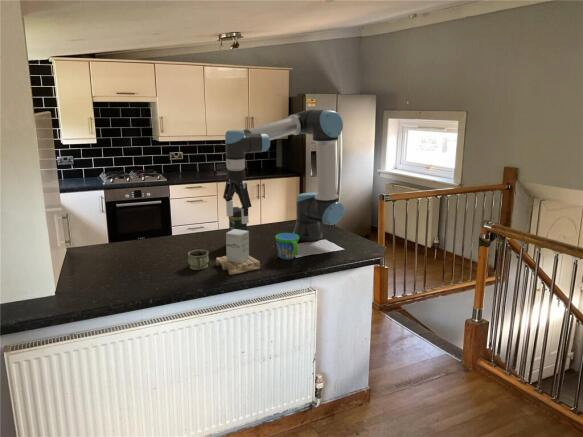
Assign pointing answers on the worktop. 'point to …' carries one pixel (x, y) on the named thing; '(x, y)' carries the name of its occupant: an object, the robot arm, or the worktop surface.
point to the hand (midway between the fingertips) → (237, 219)
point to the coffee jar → (236, 220)
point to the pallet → (237, 265)
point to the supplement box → (237, 245)
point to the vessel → (198, 259)
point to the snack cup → (287, 245)
